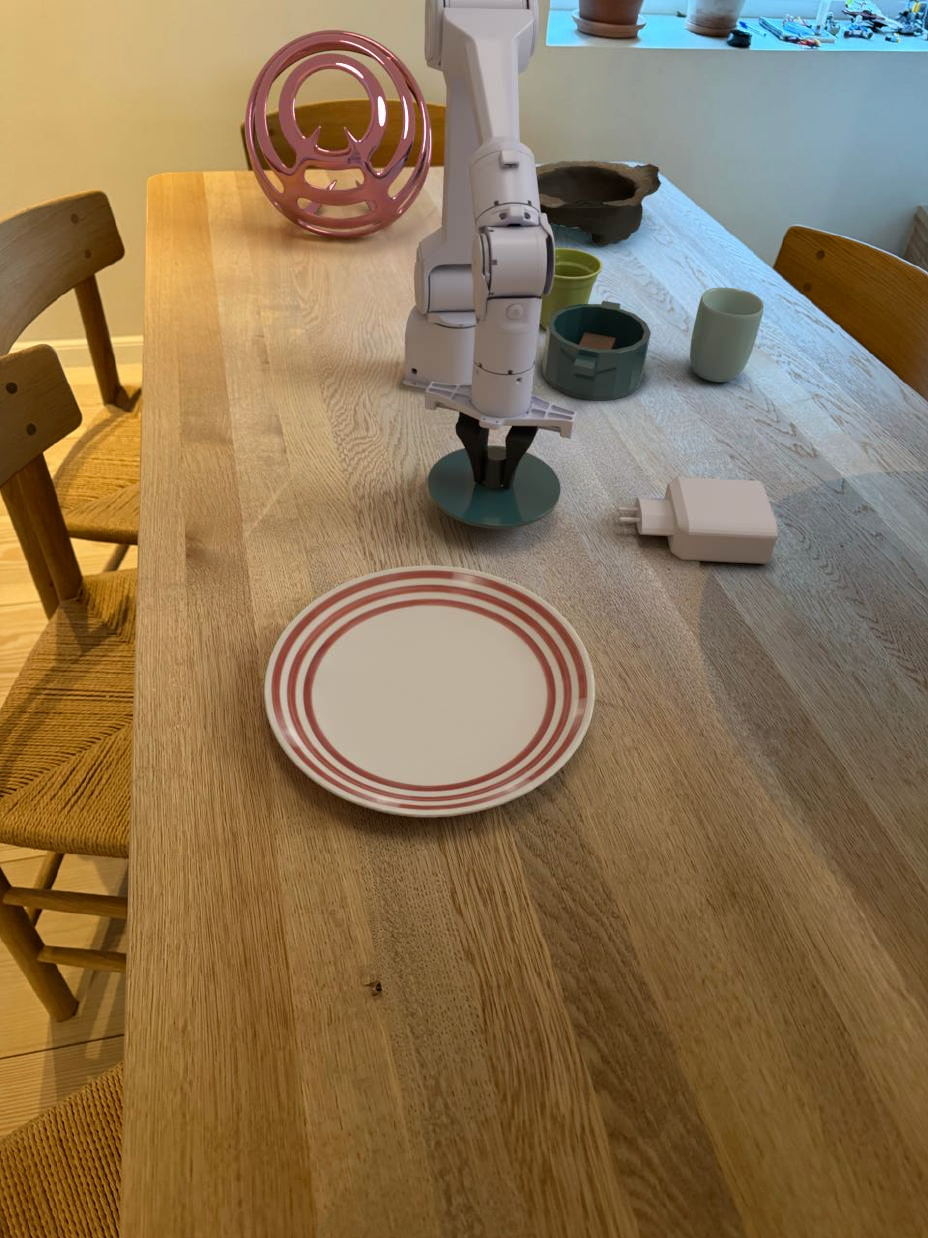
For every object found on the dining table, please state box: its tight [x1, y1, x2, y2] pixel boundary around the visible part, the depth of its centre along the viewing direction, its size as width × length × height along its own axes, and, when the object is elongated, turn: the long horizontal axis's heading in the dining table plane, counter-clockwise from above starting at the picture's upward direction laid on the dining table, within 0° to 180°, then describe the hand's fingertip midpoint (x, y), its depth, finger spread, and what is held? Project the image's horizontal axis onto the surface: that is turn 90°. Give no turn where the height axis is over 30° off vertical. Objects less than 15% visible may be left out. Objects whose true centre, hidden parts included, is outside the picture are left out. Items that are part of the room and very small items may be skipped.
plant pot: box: [539, 247, 603, 330], centre depth 129 cm, size 9×9×9 cm
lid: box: [426, 444, 562, 530], centre depth 96 cm, size 14×14×5 cm
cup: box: [689, 287, 765, 383], centre depth 120 cm, size 8×8×10 cm
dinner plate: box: [263, 564, 596, 818], centre depth 80 cm, size 27×27×3 cm
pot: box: [541, 300, 652, 401], centre depth 120 cm, size 13×18×6 cm
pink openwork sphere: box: [244, 29, 433, 240], centre depth 144 cm, size 28×28×27 cm
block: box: [579, 332, 616, 350], centre depth 121 cm, size 4×4×4 cm
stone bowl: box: [535, 160, 662, 247], centre depth 154 cm, size 25×25×9 cm
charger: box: [616, 476, 779, 565], centre depth 98 cm, size 5×9×15 cm
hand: (494, 480), depth 97 cm, fingers closed on lid, 2 cm apart
